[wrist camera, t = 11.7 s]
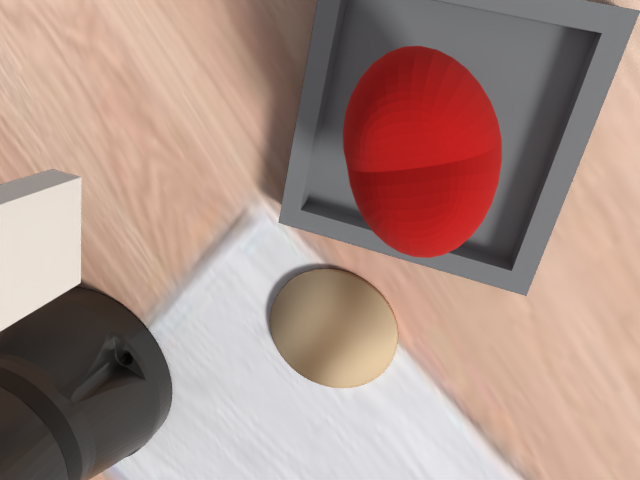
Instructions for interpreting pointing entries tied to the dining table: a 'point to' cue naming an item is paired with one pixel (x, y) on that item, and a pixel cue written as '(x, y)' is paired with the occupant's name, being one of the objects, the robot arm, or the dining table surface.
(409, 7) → the socket dish
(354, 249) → the dining table surface
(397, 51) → the red rounded piece
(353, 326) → the cork coaster
